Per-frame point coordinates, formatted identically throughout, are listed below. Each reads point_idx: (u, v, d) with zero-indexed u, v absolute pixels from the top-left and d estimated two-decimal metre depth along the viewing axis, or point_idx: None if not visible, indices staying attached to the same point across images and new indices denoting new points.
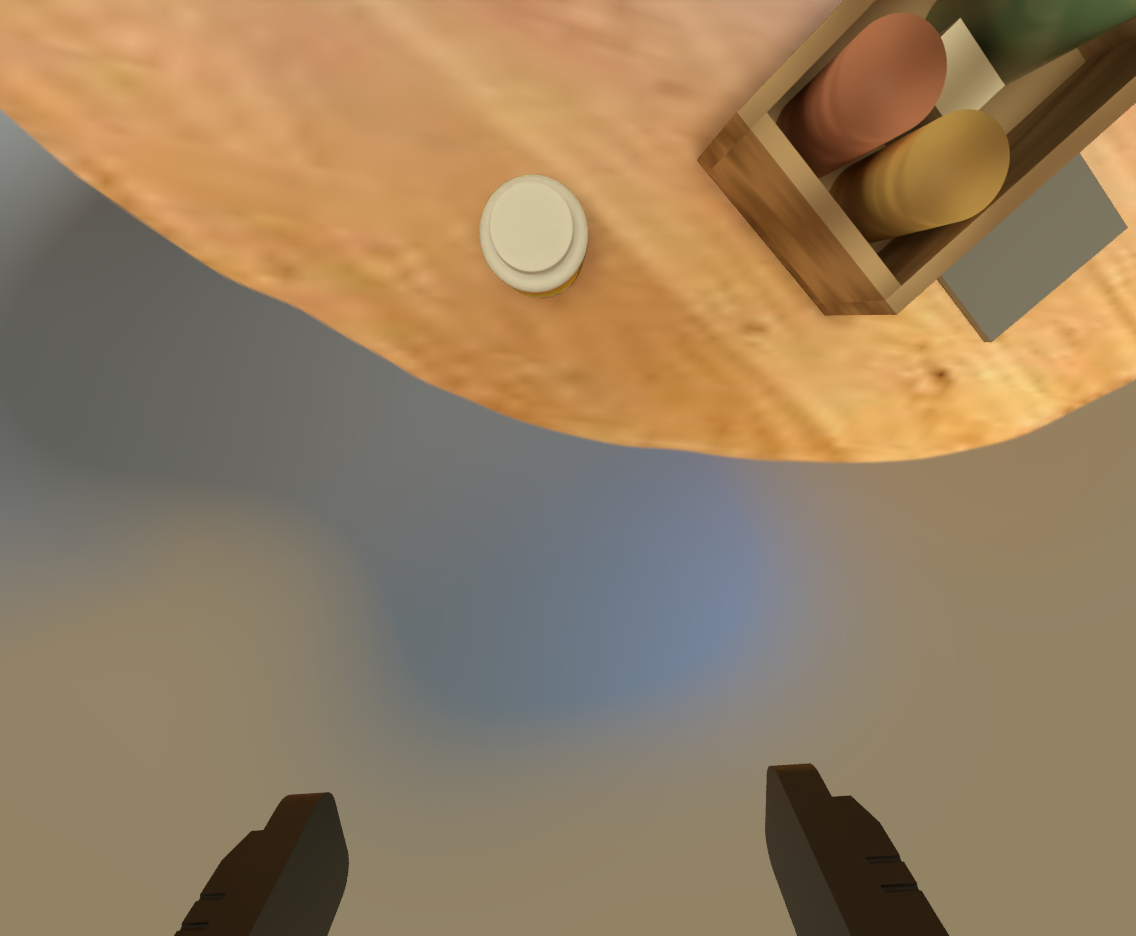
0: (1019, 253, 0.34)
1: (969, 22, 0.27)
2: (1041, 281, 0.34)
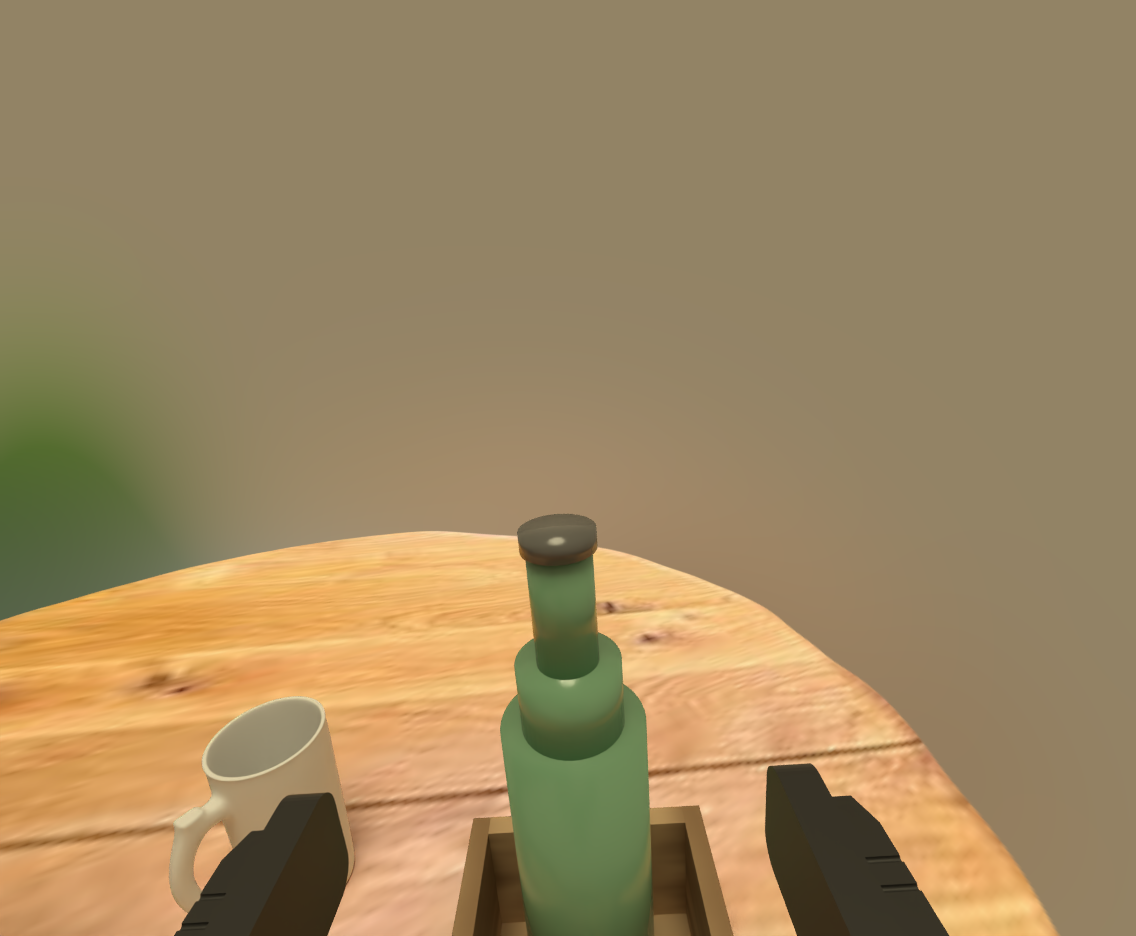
0: None
1: None
2: None
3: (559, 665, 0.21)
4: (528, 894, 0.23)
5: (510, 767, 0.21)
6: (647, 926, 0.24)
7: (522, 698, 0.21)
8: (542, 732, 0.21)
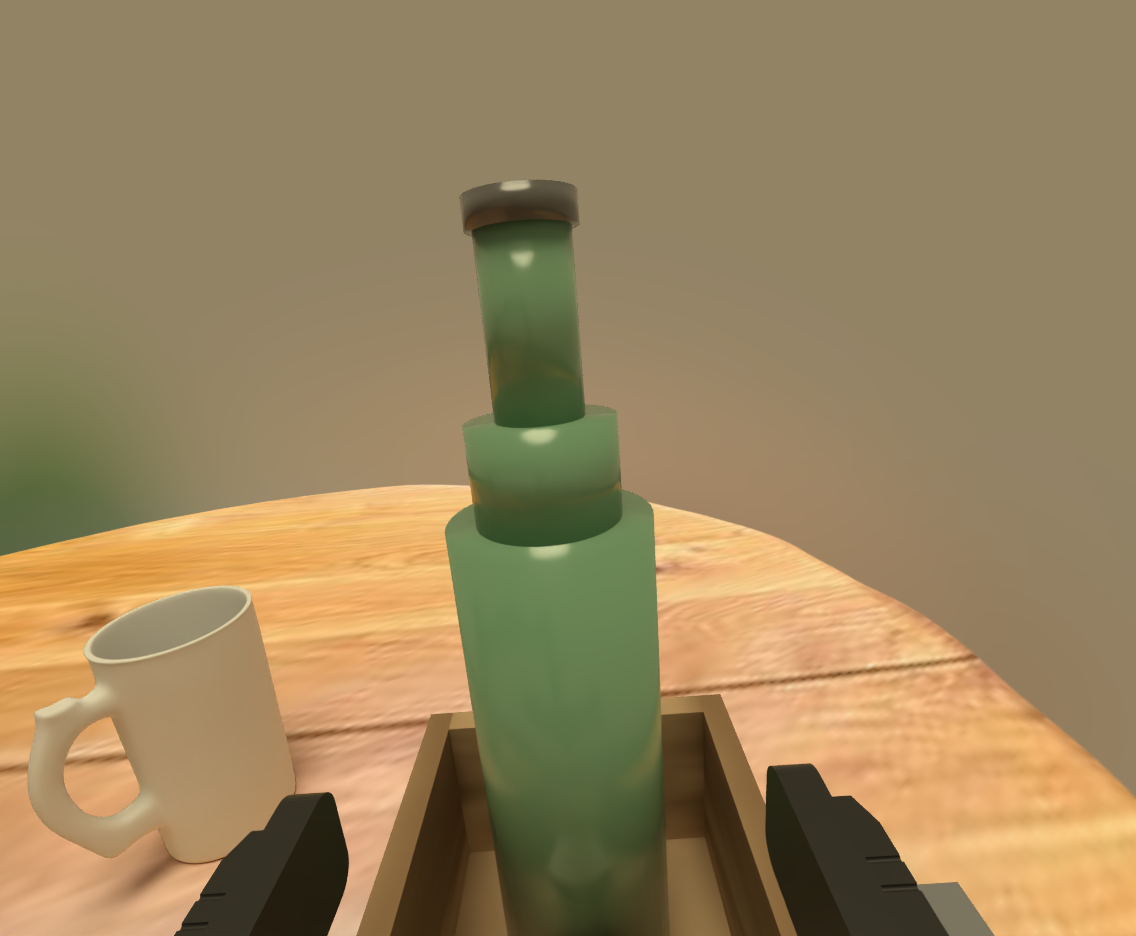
0: None
1: None
2: None
3: (524, 403, 0.14)
4: (488, 769, 0.16)
5: (456, 566, 0.15)
6: (657, 819, 0.17)
7: (472, 462, 0.14)
8: (500, 505, 0.14)
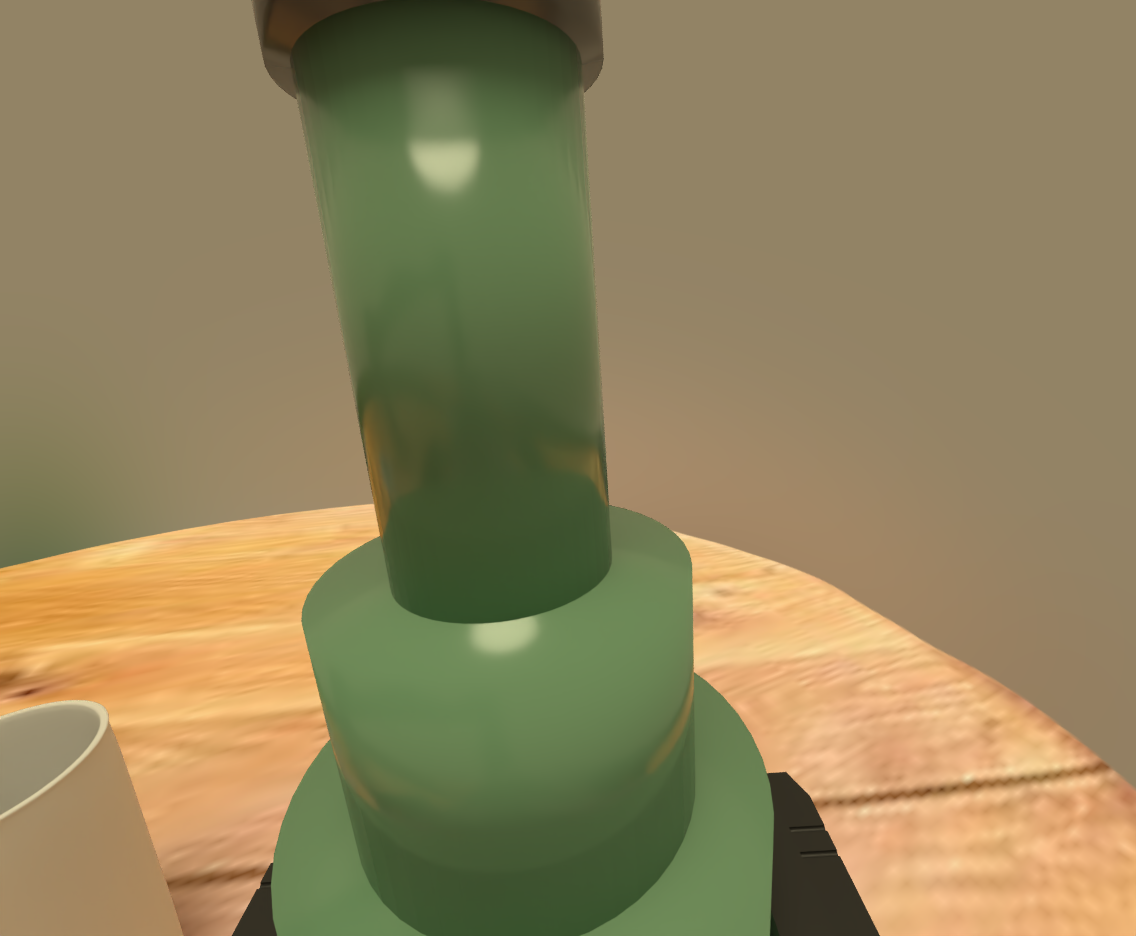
0: None
1: None
2: None
3: (450, 562, 0.05)
4: None
5: None
6: None
7: (321, 698, 0.06)
8: (386, 835, 0.05)
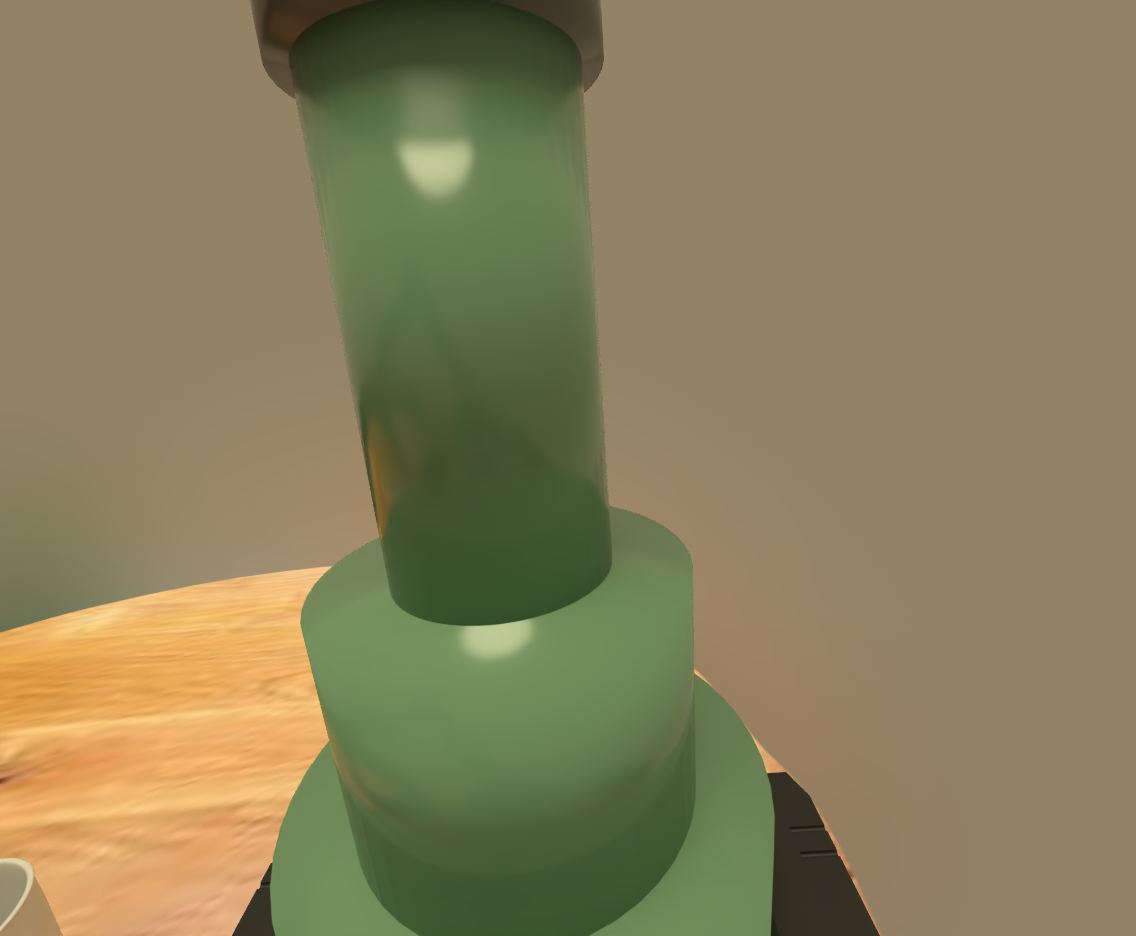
0: None
1: None
2: None
3: (450, 564, 0.05)
4: None
5: None
6: None
7: None
8: (385, 838, 0.05)
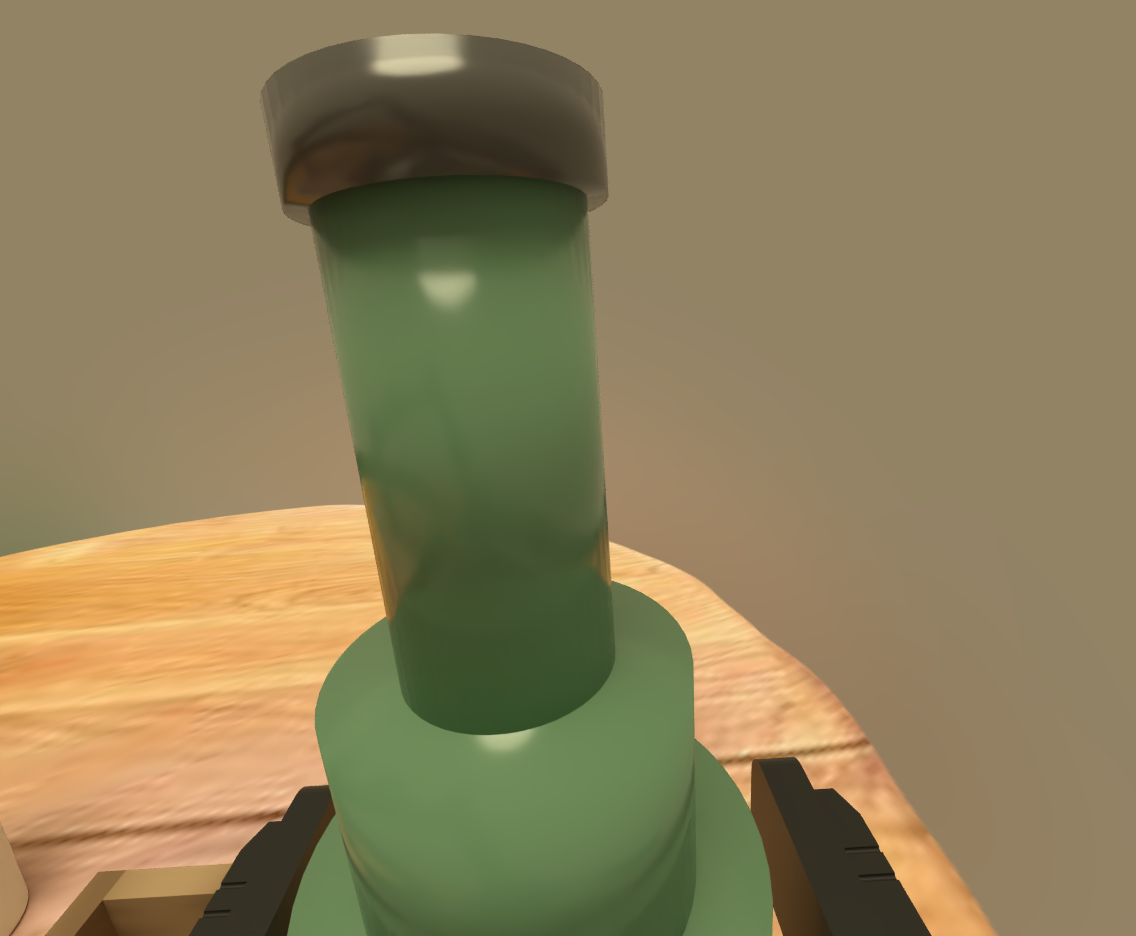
0: None
1: None
2: None
3: (460, 678, 0.05)
4: None
5: None
6: None
7: (333, 800, 0.06)
8: None
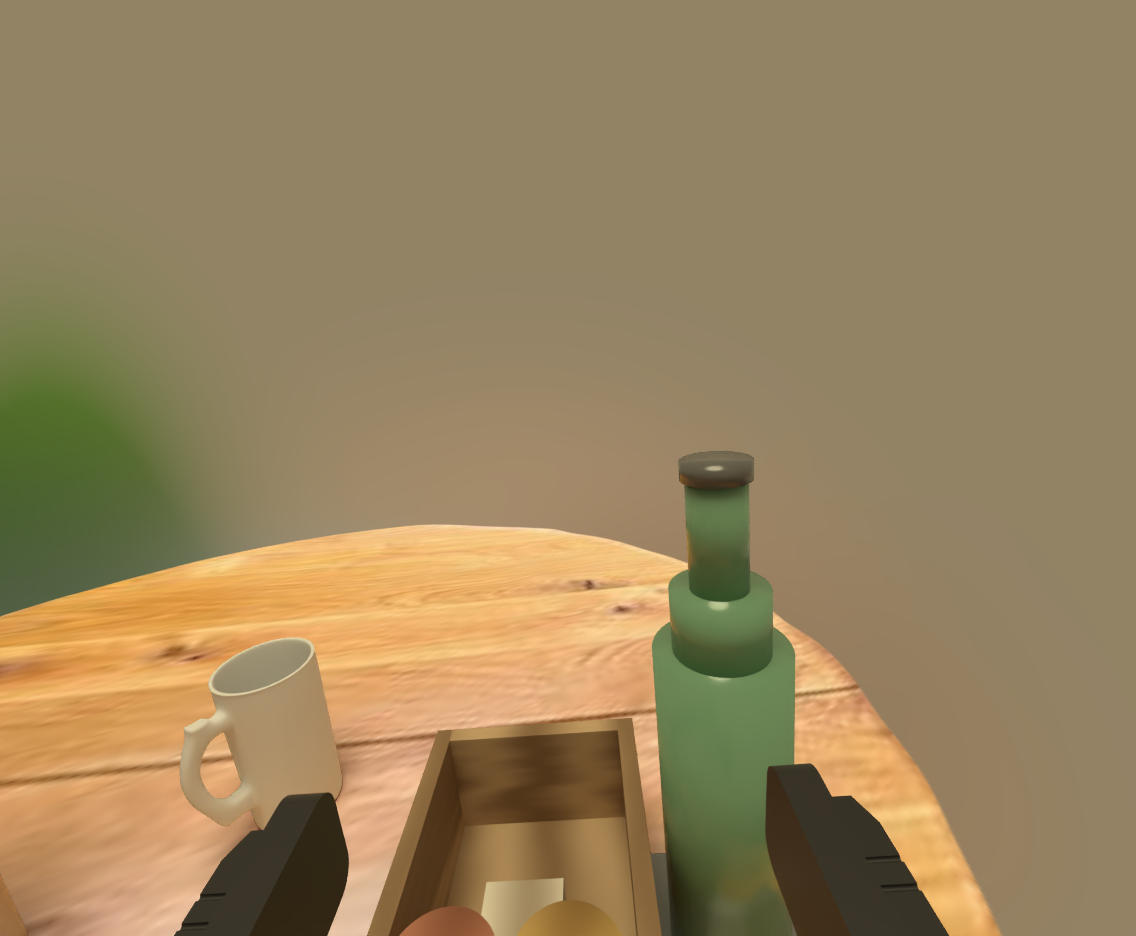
0: None
1: None
2: None
3: (719, 587, 0.22)
4: (681, 817, 0.24)
5: (671, 687, 0.23)
6: None
7: (682, 621, 0.23)
8: (704, 651, 0.22)
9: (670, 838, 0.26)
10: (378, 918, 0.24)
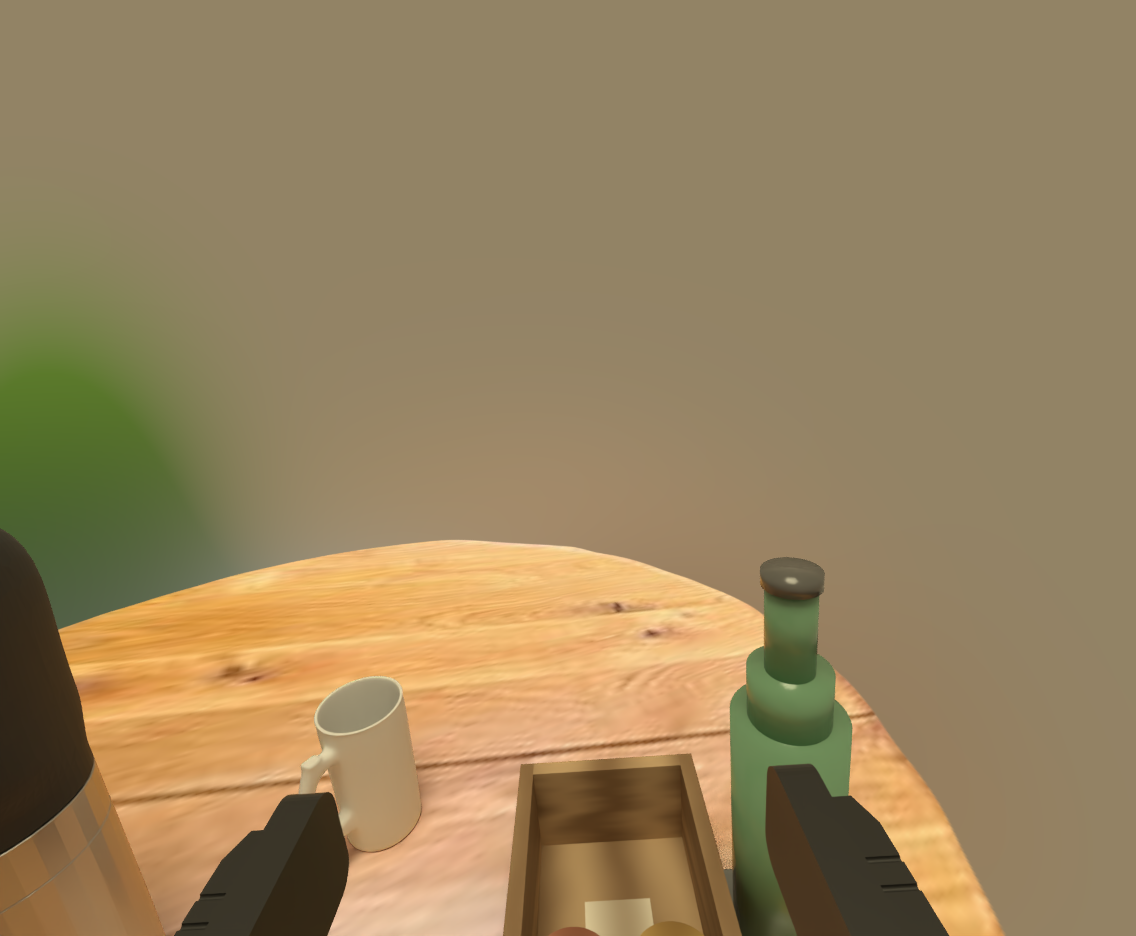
0: None
1: None
2: None
3: (794, 673, 0.27)
4: (755, 853, 0.30)
5: (752, 752, 0.28)
6: None
7: (762, 699, 0.28)
8: (781, 724, 0.27)
9: (742, 867, 0.31)
10: None
